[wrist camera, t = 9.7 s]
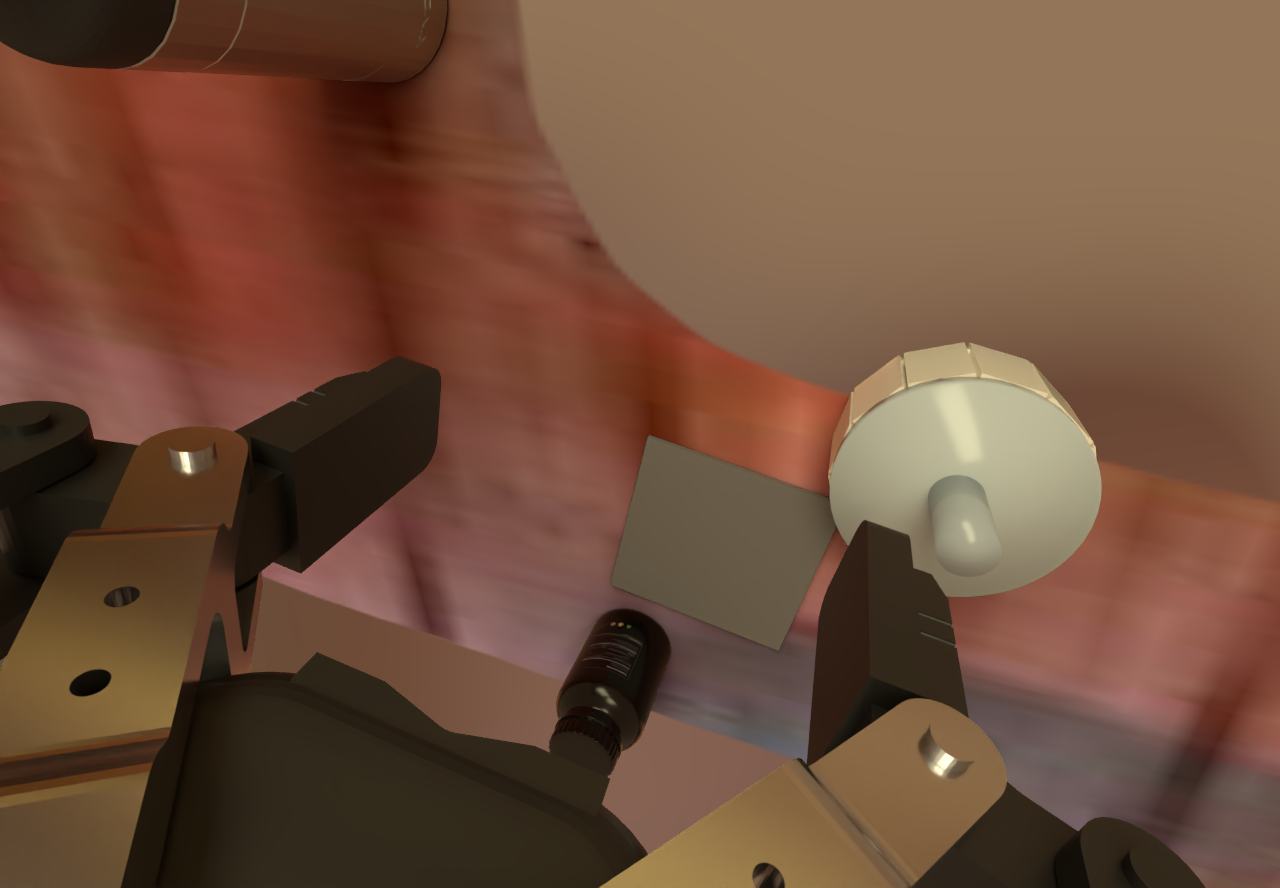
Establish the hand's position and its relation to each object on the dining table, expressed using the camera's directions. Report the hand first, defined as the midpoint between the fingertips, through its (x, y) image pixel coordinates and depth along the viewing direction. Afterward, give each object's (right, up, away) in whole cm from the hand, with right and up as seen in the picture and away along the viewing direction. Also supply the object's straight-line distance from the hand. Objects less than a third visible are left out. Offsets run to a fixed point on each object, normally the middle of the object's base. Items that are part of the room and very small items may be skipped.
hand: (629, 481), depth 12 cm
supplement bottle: (0, -15, +43) cm, 46 cm away
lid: (+17, -2, +24) cm, 30 cm away
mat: (+6, -7, +36) cm, 37 cm away
